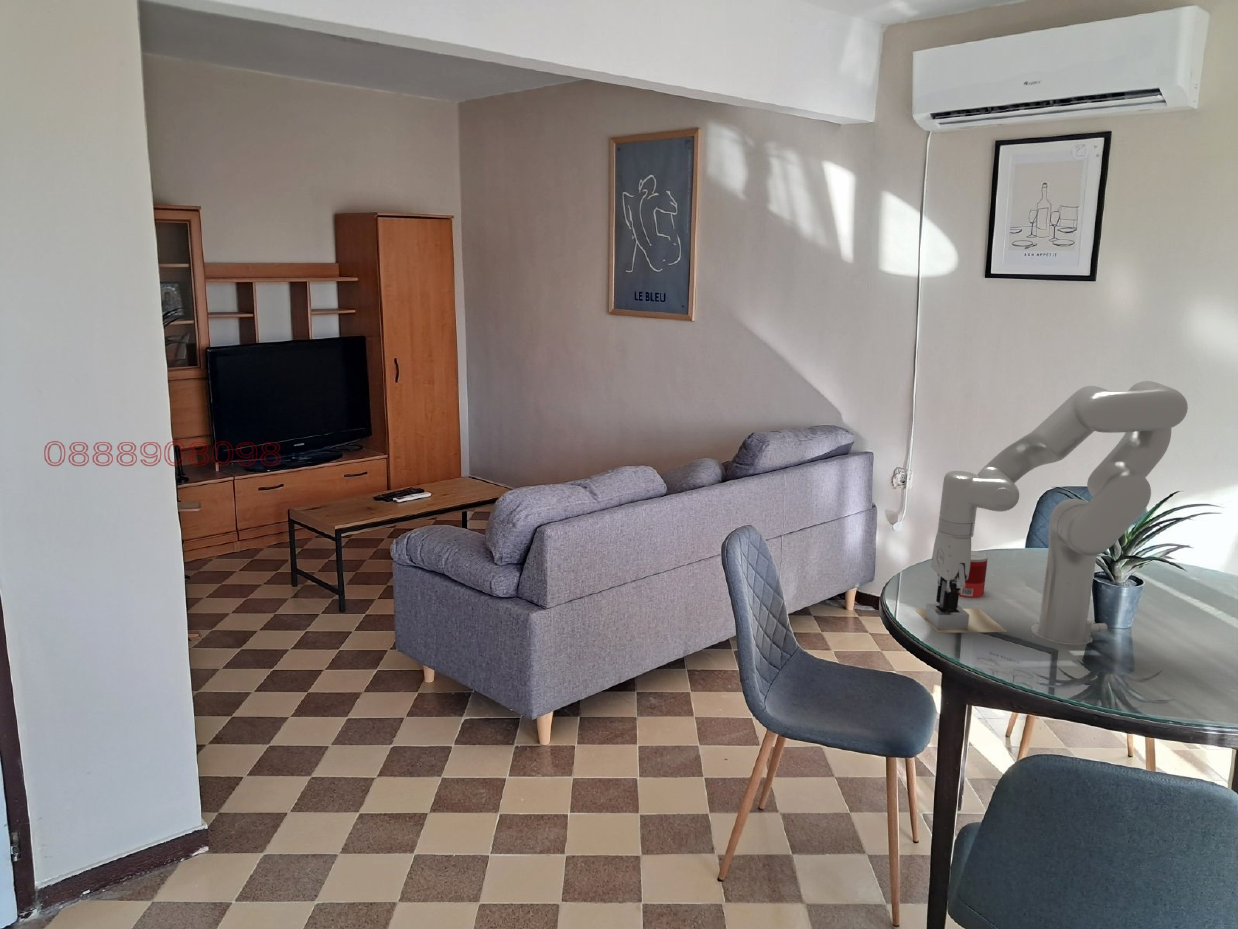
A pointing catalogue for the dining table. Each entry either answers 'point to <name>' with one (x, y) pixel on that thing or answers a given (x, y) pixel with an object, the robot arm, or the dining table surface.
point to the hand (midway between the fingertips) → (946, 604)
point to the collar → (947, 618)
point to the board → (971, 622)
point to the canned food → (975, 576)
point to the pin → (944, 587)
